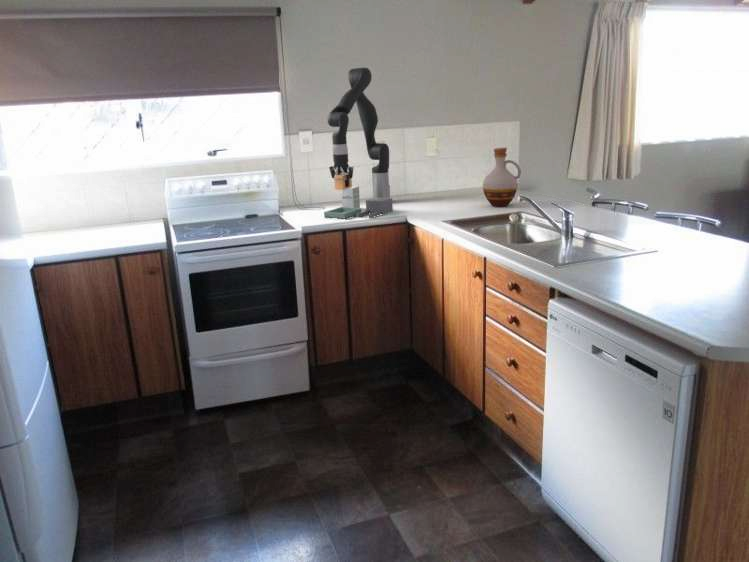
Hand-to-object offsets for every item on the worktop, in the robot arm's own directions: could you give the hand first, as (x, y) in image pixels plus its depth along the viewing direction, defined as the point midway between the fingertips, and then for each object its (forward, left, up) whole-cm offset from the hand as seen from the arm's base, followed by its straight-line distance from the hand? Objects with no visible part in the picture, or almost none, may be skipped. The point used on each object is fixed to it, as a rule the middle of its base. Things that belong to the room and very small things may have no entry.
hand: (342, 186), depth 325 cm
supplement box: (-14, -6, -15) cm, 22 cm away
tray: (+1, 0, -15) cm, 15 cm away
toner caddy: (-1, 0, -1) cm, 1 cm away
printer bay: (-8, +13, -15) cm, 22 cm away
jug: (-51, +65, -15) cm, 84 cm away
